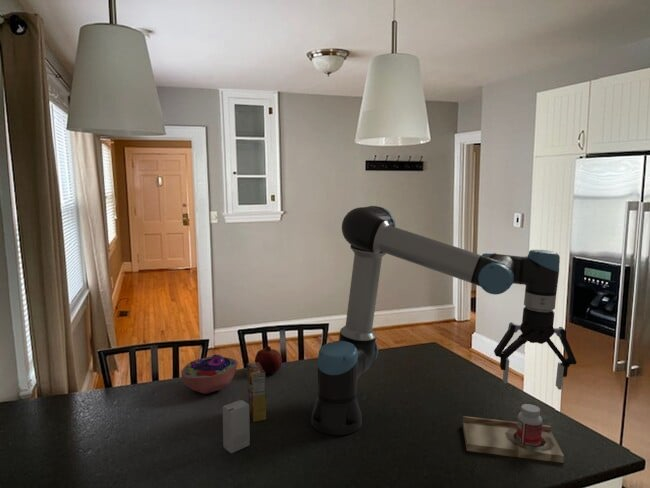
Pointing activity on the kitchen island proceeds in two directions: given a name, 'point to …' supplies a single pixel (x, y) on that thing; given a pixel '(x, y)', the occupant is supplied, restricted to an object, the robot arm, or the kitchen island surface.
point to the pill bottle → (529, 426)
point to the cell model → (209, 373)
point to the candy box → (256, 391)
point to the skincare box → (236, 426)
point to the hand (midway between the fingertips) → (531, 384)
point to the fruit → (269, 360)
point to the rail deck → (507, 440)
